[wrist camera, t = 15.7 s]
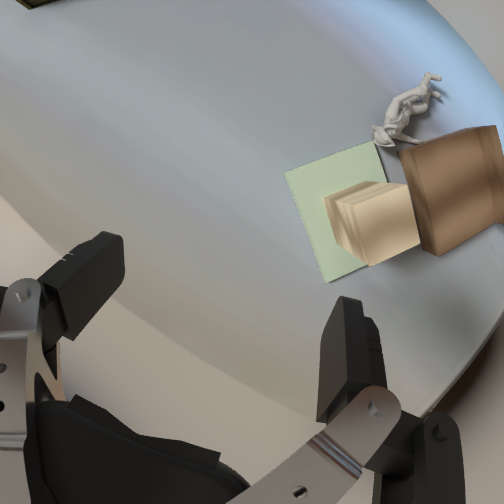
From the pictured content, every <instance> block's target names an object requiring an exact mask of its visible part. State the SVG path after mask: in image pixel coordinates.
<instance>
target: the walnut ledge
mask: <svg viewBox="0 0 504 504" xmlns="http://www.w3.org/2000/svg"><path fill="white" fill-rule="evenodd" d="M398 154H399V157H400V160H401V163H402V167H403V170H404V173H405V176H406V180H407V183H408V187H409V190H410V194H411V197H412V201H413V205H414V209H415V213H416V217H417V221H418V226H419V230H420V235H421V239H422V244H423V249H424V251H427V252H429V253H431V254H433V255H436V256H440V255H442V254H444V253H445V252H447V251H449V250H451V249H452V248H454V247H456V246H457V245H459V244H461V243H462V242H464V241H466V240H467V239H469V238H471V237H472V236H474V235H476V234H477V233H479V232H480V231H482V230H484V229H485V228H487V227H488V226H490V225H492V224H493V223H495V222H496V223H500V224H503V225H504V155H503V151H502V147H501V143H500V139H499V135H498V131H497V128H496V125H491V126H481V127H472V128H465V129H462V130H459V131H456V132H453V133H450V134H447V135H444V136H441V137H438V138H435V139H432V140H429V141H426V142H423V143H421V144H417V145H415V146H412V147H409V148H406V149H403V150H400V151H398Z"/></svg>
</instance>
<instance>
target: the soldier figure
mask: <svg viewBox="0 0 504 504" xmlns="http://www.w3.org/2000/svg"><path fill="white" fill-rule="evenodd" d="M430 80H435V81H441V80H442V78H441V77H440V76H439V75H437V74H435V75H433V74H430V73H429V72H425V74H424V78H423V79H422V81H421V83H420V85H419V86H418V87H415V88H412V89H411V90H408V91H407V92H404V93H402V94H400V95H398V96H396V97H394V98H393V100H392V103H391V104H390V105H389V107H388V109H387V111H386V113H385V120H384V121H383V122H384V125H383V126H384V127H380V126H378V127H376V126H374V125H371V128H372V136H373V141H374V142H375V144H377V145H382V146H386V147H391V146H395V144H394V142H393V141H392V140H391V139H398V140H402V141H406V142H409V143H414V144H421V143H422V141H423V140H422V139H420V140H417V139H412V138H411V137H410V136H408V135H405V134H404V133H401V131H402V130H403V128H404V127H406V126H407V125H408V124H409V122H410V121H409V118H410V116H411V115H412V114H421V113H424V112H425V111H426V110H427V108H428V103H429V98H430V96H434V97H436V98H440V97H441V95H440V94H439V93H438V92H437V91H432V90H430V88H428V85H429V82H430ZM422 95H423V96H422ZM420 97H422V98H421V101H420V102H418V103H416V101H417V100H419V99H420ZM421 140H422V141H421Z"/></svg>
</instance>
